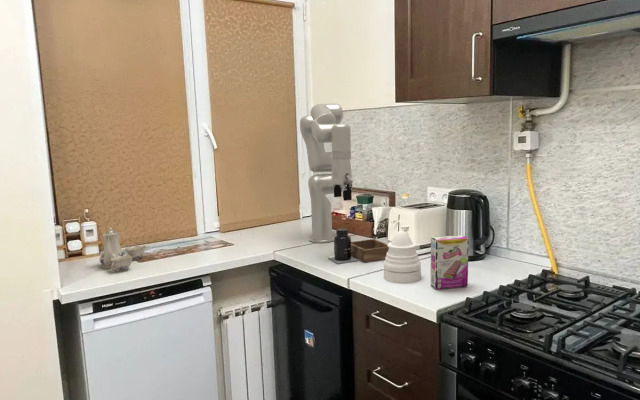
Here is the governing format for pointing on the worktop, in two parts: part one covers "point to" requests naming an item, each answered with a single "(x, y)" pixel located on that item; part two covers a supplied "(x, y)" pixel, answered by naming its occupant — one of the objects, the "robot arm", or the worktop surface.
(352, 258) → the grey mat
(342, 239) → the supplement bottle
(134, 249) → the chinaware
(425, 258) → the worktop surface
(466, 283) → the candy bar box
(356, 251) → the open-top box
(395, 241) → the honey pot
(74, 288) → the worktop surface
